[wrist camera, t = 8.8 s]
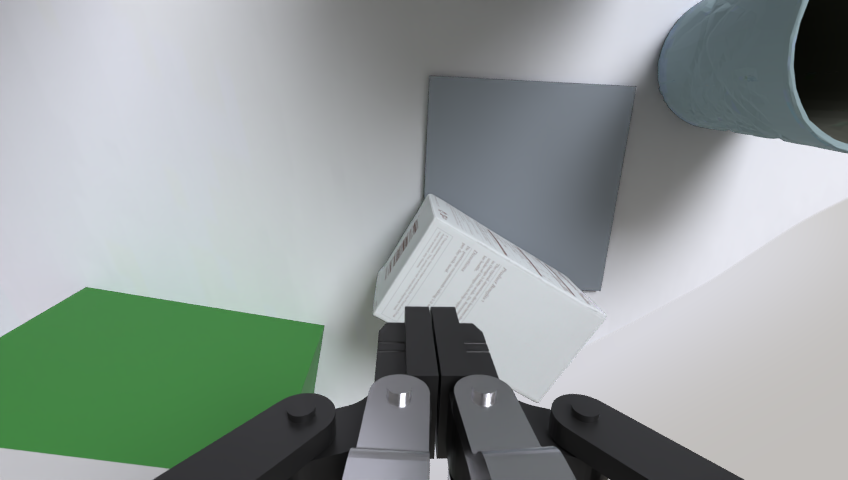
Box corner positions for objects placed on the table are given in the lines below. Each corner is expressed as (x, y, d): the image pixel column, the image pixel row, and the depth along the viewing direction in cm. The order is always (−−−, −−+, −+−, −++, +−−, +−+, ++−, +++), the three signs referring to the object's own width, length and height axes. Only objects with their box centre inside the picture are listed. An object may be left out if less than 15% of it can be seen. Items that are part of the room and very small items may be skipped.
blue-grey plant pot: (687, 164, 32) (842, 199, 21) (616, 46, 30) (749, 11, 18) (814, 72, 31) (1058, 55, 19) (751, -62, 28) (989, -173, 17)
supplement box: (376, 272, 33) (512, 349, 36) (369, 316, 26) (540, 409, 29) (429, 189, 32) (568, 275, 34) (437, 211, 25) (612, 318, 27)
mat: (429, 76, 30) (429, 75, 29) (633, 86, 31) (636, 86, 30) (419, 284, 34) (420, 286, 34) (598, 288, 35) (600, 290, 35)
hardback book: (87, 372, 35) (-504, 878, 12) (85, 287, 33) (-628, 704, 10) (311, 404, 37) (163, 897, 14) (324, 325, 35) (174, 753, 12)
